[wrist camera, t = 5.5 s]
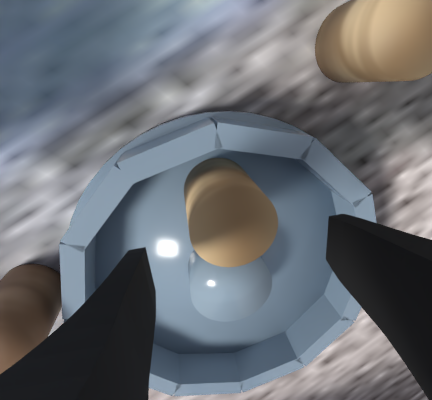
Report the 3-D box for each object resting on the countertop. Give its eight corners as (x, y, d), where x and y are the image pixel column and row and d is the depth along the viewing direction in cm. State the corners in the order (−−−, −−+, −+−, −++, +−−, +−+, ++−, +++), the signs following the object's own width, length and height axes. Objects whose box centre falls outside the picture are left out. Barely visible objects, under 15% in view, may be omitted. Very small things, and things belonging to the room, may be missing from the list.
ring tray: (12, 293, 18) (-20, 337, 15) (197, 28, 14) (205, 12, 11) (235, 385, 26) (245, 428, 22) (402, 225, 21) (443, 250, 18)
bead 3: (301, 43, 15) (353, 25, 11) (357, -17, 15) (440, -64, 10) (341, 97, 17) (402, 101, 12) (394, 44, 16) (481, 27, 12)
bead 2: (189, 225, 17) (196, 274, 13) (178, 163, 16) (181, 195, 11) (251, 213, 18) (279, 257, 13) (246, 152, 16) (276, 178, 12)
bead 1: (-10, 296, 18) (-69, 367, 14) (19, 253, 18) (-33, 313, 13) (49, 320, 20) (14, 390, 15) (79, 281, 19) (50, 343, 14)
